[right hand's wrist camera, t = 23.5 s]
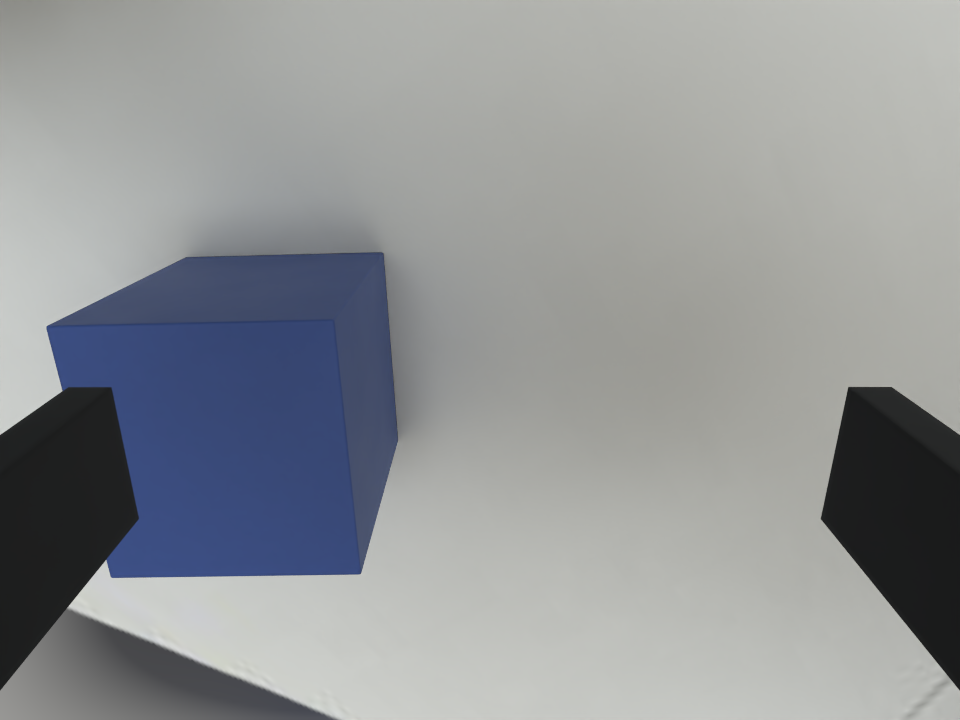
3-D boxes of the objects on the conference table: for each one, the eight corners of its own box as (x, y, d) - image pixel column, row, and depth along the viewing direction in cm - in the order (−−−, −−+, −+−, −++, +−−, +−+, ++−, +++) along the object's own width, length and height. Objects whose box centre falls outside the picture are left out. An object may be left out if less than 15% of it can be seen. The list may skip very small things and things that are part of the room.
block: (383, 252, 29) (334, 319, 20) (398, 440, 32) (361, 575, 23) (185, 257, 29) (44, 326, 20) (218, 444, 32) (110, 578, 23)
